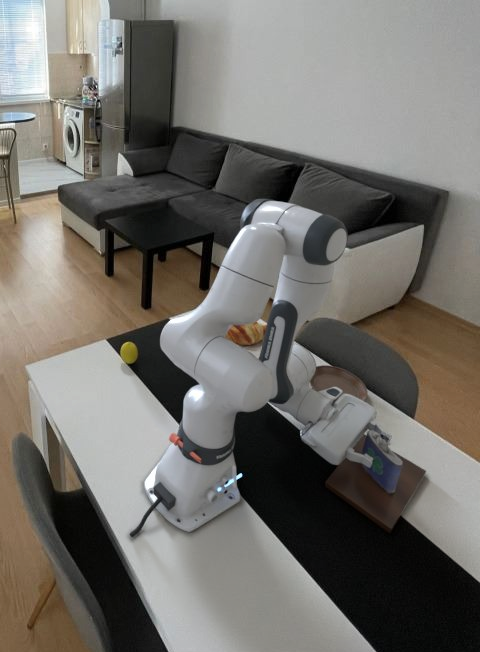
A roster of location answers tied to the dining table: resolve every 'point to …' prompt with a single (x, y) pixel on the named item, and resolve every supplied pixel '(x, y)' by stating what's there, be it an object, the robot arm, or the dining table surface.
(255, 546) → the dining table surface
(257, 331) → the croissant
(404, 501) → the cutting board
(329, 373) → the saucer
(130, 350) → the lemon
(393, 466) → the flask
